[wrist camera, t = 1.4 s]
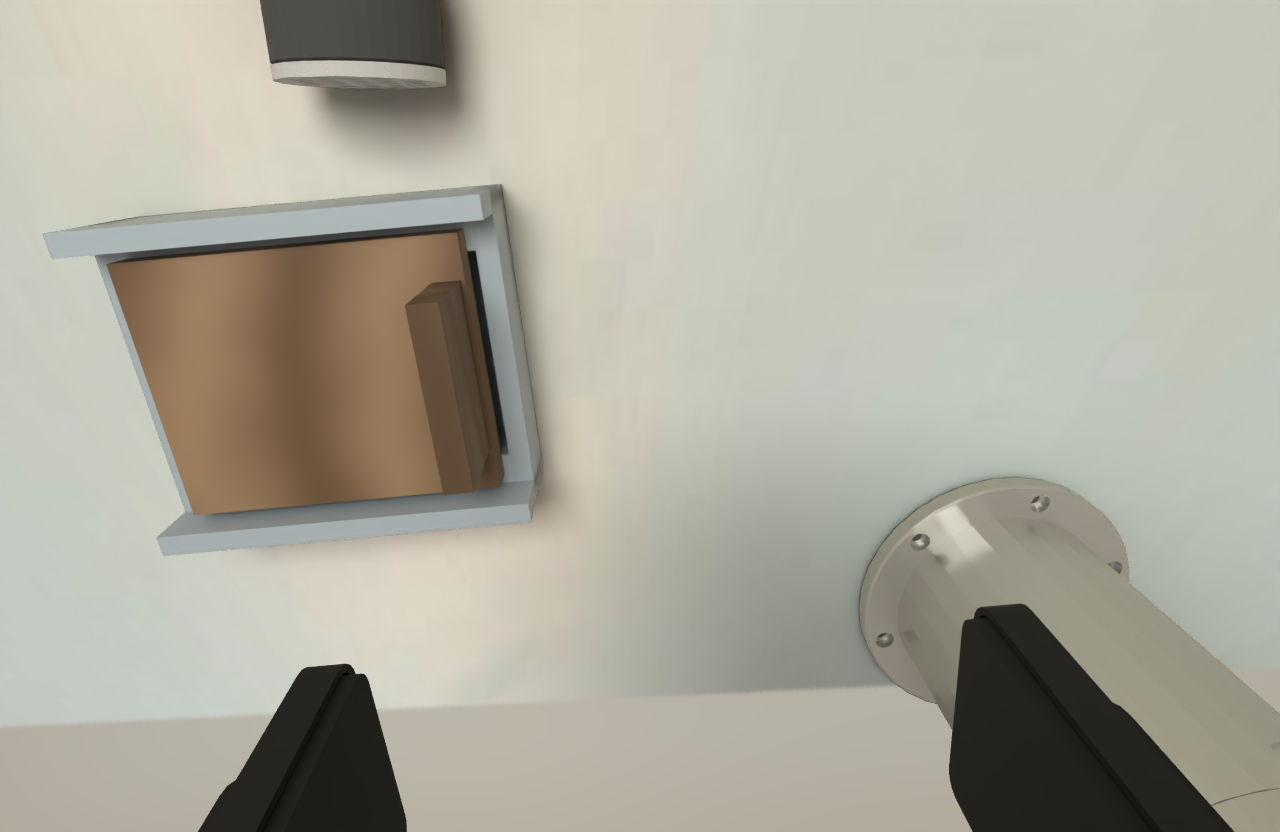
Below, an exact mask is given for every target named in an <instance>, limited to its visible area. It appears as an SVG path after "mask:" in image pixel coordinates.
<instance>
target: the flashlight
mask: <svg viewBox="0 0 1280 832" xmlns="http://www.w3.org/2000/svg"><path fill="white" fill-rule="evenodd" d="M260 4H261V10H262V16H263V22H264V28H265V34H266V40H267V46H268V52H269V58H270V63H271V64H272V65H270V66H271V72H272V77H273V81H275V82H279V83H283V84H291V85H301V86H315V87H329V88H361V89H395V88H402V89H416V88H434V87H442V86H446V85H447V84H446V71H445V70H444V69H445V61H444V49H443V37H442V25H441V13H440V1H439V0H260Z"/></svg>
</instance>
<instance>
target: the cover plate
mask: <svg viewBox="0 0 1280 832" xmlns="http://www.w3.org/2000/svg"><path fill="white" fill-rule="evenodd" d="M106 266H107V268H108V271H109V274H110V277H111V280H112V283H113V286H114V288H115V291H116V294H117V297H118V300H119V303H120V306H121V308H122V311H123V314H124V317H125V320H126V323H127V326H128V328H129V331H130V334H131V337H132V340H133V343H134V346H135V348H136V351H137V354H138V357H139V360H140V363H141V366H142V368H143V371H144V374H145V377H146V380H147V383H148V386H149V388H150V391H151V394H152V397H153V400H154V403H155V406H156V408H157V411H158V414H159V417H160V420H161V423H162V426H163V428H164V431H165V434H166V437H167V440H168V443H169V446H170V448H171V451H172V454H173V457H174V460H175V463H176V466H177V468H178V471H179V474H180V477H181V480H182V483H183V486H184V488H185V491H186V494H187V497H188V500H189V503H190V506H191V508H192V511H193V514H194V515H202V514H213V513H224V512H235V511H246V510H257V509H268V508H279V507H289V506H300V505H311V504H322V503H333V502H344V501H355V500H366V499H376V498H387V497H398V496H409V495H420V494H431V493H442V492H443V495H451V494H461V493H472V492H474V490H475V489H485V488H496V487H501V484H502V480H503V477H504V474H505V472H504V467H503V461H502V455H501V449H500V443H499V437H498V431H497V425H496V419H495V413H494V407H493V401H492V395H491V389H490V383H489V377H488V371H487V366H486V360H485V354H484V348H483V342H482V336H481V330H480V324H479V318H478V312H477V306H476V300H475V294H474V288H473V282H472V276H471V270H470V265H469V259H468V253H467V247H466V241H465V235H464V229H463V228H459V229H448V230H437V231H426V232H415V233H404V234H393V235H382V236H371V237H360V238H348V239H337V240H326V241H315V242H304V243H293V244H282V245H271V246H260V247H249V248H238V249H227V250H216V251H205V252H194V253H183V254H172V255H160V256H149V257H138V258H128V259H124V260H120V261H116V262H112V263H109V264H106Z"/></svg>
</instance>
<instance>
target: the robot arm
mask: <svg viewBox="0 0 1280 832" xmlns="http://www.w3.org/2000/svg"><path fill="white" fill-rule="evenodd" d="M859 612H860V621H861V629H862V632H863V634H864V637H865V640H866V643H867V645H868V648H869V649H870V651H871V653H872V655H873V657H874V659H875V660H876V662H877V664H878V666H879V667H880V668H881V669H882V671H883V672H884V673H885V674H886V675H887V676H888V678H889V679H890V680H891V681H892V682H894V683H895V684H896V685H898V686H899V687H900V688H902V689H903V690H904V691H906V692H907V693H909V694H912V695H914V696H916V697H918V698H920V699H922V700H925V701H927V702H931V703H935V704H938V706H939V708H940V709H941V711H942V713H943V715H944V717H945V718H946V720H947V722H948V723H949V725H950V727H951V729H952V741H951V753H950V763H949V775H950V782H951V786H952V790H953V793H954V795H955V798H956V800H957V802H958V804H959V806H960V808H961V810H962V812H963V814H964V816H965V817H966V820H967V821H968V823H969V825H970V827H971V829H972V831H973V832H1280V713H1279V712H1277V711H1276V710H1275V709H1274V708H1273V707H1272V706H1270V705H1269V704H1268V703H1267V702H1266V701H1265V700H1264V699H1263V698H1261V697H1260V696H1259V695H1258V694H1257V693H1256V692H1254V691H1253V690H1252V689H1251V688H1250V687H1249V686H1247V685H1246V684H1245V683H1244V682H1243V681H1242V680H1240V679H1239V678H1238V677H1237V676H1236V675H1235V674H1234V673H1233V672H1231V671H1230V670H1229V669H1228V668H1227V667H1226V666H1225V665H1223V664H1222V663H1221V662H1220V661H1219V660H1218V659H1216V658H1215V657H1214V656H1213V655H1212V654H1211V653H1210V652H1208V651H1207V650H1206V649H1205V648H1204V647H1203V646H1202V645H1200V644H1199V643H1198V642H1197V641H1196V640H1195V639H1193V638H1192V637H1191V636H1190V635H1189V634H1188V633H1187V632H1185V631H1184V630H1183V629H1182V628H1181V627H1180V626H1178V625H1177V624H1176V623H1175V622H1174V621H1173V620H1172V619H1170V618H1169V617H1168V616H1167V615H1166V614H1165V613H1164V612H1162V611H1161V610H1160V609H1159V608H1158V607H1157V606H1155V605H1154V604H1153V603H1152V602H1151V601H1150V600H1149V599H1147V598H1146V597H1145V596H1144V595H1143V594H1142V593H1140V592H1139V591H1138V590H1137V589H1136V588H1135V587H1134V586H1132V585H1131V584H1130V583H1129V564H1128V559H1127V553H1126V548H1125V546H1124V544H1123V542H1122V540H1121V537H1120V535H1119V533H1118V531H1117V529H1116V528H1115V527H1114V526H1113V524H1112V523H1111V522H1110V521H1109V520H1108V518H1107V517H1106V516H1105V515H1104V514H1103V513H1102V512H1101V511H1100V510H1098V509H1097V508H1096V507H1095V506H1093V505H1092V504H1091V503H1090V502H1088V501H1087V500H1086V499H1085V498H1083V497H1081V496H1080V495H1078V494H1076V493H1074V492H1072V491H1071V490H1069V489H1067V488H1065V487H1063V486H1060V485H1056V484H1053V483H1050V482H1047V481H1043V480H1037V479H1028V478H1018V477H1015V478H1001V479H990V480H986V481H981V482H977V483H973V484H969V485H965V486H962V487H960V488H957V489H955V490H953V491H950V492H948V493H945V494H943V495H941V496H939V497H937V498H935V499H934V500H932V501H930V502H929V503H927V504H926V505H924V506H922V507H921V508H919V509H917V510H916V511H915V512H914V513H912V514H911V515H910V516H909V517H908V518H907V519H905V520H904V521H903V522H902V523H901V524H900V525H898V526H897V527H896V528H895V530H894V531H893V532H892V533H891V534H890V536H889V537H888V538H887V539H886V540H885V541H884V543H883V544H882V545H881V546H880V548H879V550H878V552H877V553H876V555H875V557H874V558H873V560H872V562H871V564H870V565H869V567H868V570H867V573H866V576H865V579H864V582H863V585H862V588H861V597H860V606H859ZM198 832H407V825H406V817H405V813H404V809H403V806H402V802H401V798H400V794H399V791H398V787H397V784H396V780H395V776H394V772H393V769H392V765H391V762H390V758H389V755H388V751H387V747H386V743H385V740H384V736H383V732H382V729H381V725H380V721H379V718H378V714H377V710H376V707H375V703H374V699H373V696H372V692H371V688H370V685H369V681H368V679H367V677H366V676H365V674H355V671H354V669H353V668H352V666H351V665H349V664H338V665H327V666H316V667H306V668H304V669H302V670H301V672H300V673H299V674H298V675H297V677H296V679H295V681H294V682H293V684H292V686H291V687H290V689H289V691H288V692H287V694H286V696H285V698H284V699H283V701H282V703H281V704H280V706H279V708H278V709H277V711H276V713H275V715H274V716H273V718H272V720H271V721H270V723H269V725H268V727H267V728H266V730H265V732H264V733H263V735H262V737H261V738H260V740H259V742H258V744H257V745H256V747H255V749H254V750H253V752H252V754H251V755H250V757H249V759H248V761H247V762H246V764H245V766H244V768H243V769H242V771H241V772H240V774H239V776H238V777H237V779H236V780H235V781H234V782H232V783H231V784H229V785H228V786H227V787H226V788H225V790H224V791H223V792H222V794H221V795H220V796H219V798H218V799H217V801H216V803H215V804H214V806H213V808H212V810H211V811H210V813H209V814H208V816H207V818H206V819H205V821H204V823H203V824H202V826H201V828H200V829H199V831H198Z"/></svg>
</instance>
